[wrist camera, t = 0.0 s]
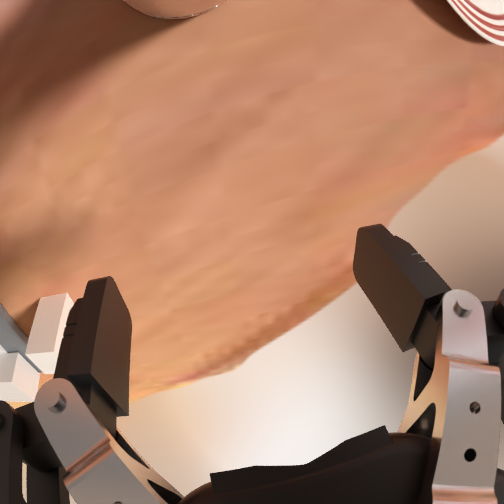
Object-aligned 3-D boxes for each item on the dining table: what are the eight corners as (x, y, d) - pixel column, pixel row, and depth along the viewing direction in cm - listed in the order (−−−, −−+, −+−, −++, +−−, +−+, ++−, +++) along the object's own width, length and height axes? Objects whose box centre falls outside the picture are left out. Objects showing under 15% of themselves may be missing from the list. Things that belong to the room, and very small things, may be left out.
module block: (39, 297, 30) (24, 354, 24) (67, 292, 30) (53, 351, 24) (55, 319, 32) (43, 374, 26) (81, 315, 33) (73, 372, 27)
